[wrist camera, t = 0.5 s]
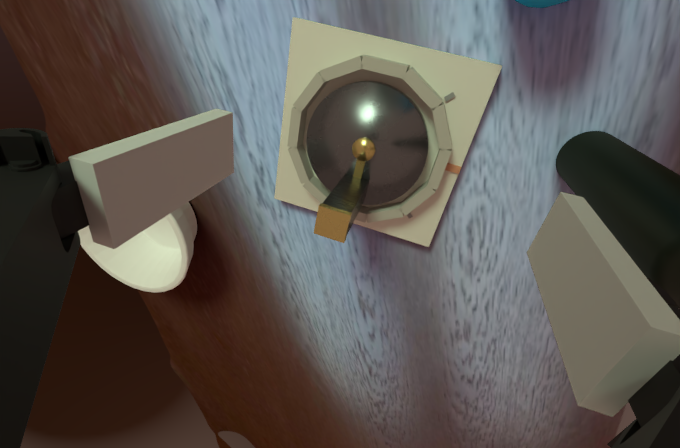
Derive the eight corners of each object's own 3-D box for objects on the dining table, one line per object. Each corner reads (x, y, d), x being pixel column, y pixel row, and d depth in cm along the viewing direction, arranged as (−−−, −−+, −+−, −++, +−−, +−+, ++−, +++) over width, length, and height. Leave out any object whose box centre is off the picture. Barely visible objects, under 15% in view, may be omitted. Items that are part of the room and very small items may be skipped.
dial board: (298, 18, 37) (285, 16, 34) (500, 64, 34) (505, 67, 31) (279, 194, 48) (268, 204, 46) (429, 241, 45) (427, 255, 42)
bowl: (208, 157, 49) (168, 177, 42) (228, 273, 59) (199, 304, 52) (93, 144, 54) (41, 159, 47) (130, 253, 64) (91, 279, 57)
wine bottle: (628, 130, 34) (1176, 407, 8) (611, 184, 36) (988, 520, 11) (562, 131, 35) (852, 366, 10) (550, 183, 38) (756, 473, 13)
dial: (320, 66, 37) (276, 76, 28) (447, 98, 35) (446, 120, 26) (303, 181, 44) (264, 220, 35) (407, 213, 42) (395, 263, 33)
